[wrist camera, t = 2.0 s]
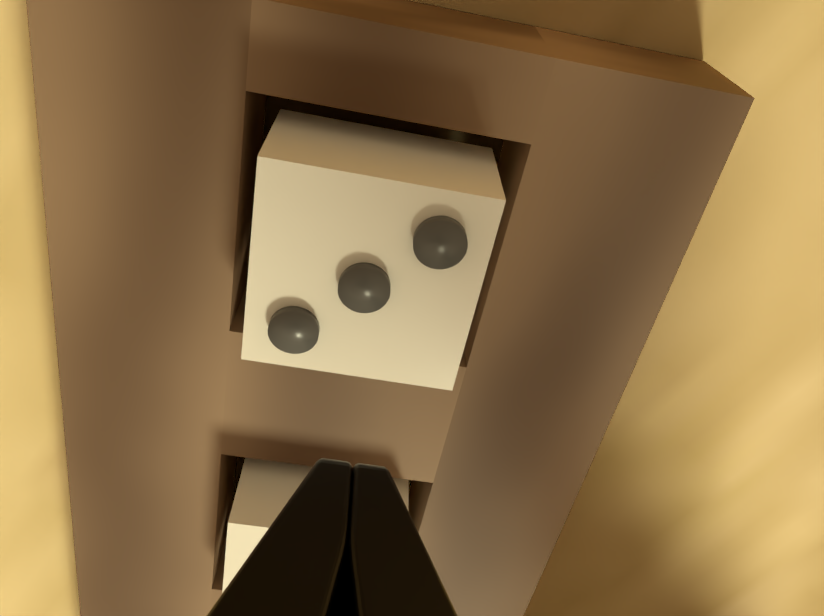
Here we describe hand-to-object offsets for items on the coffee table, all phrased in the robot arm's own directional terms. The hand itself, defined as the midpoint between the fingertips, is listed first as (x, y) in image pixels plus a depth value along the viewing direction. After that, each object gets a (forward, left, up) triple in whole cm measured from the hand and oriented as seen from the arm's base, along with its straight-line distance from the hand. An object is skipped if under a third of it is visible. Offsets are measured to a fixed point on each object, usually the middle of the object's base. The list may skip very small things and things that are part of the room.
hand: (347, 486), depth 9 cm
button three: (0, 0, -7) cm, 7 cm away
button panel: (0, +8, -9) cm, 12 cm away
